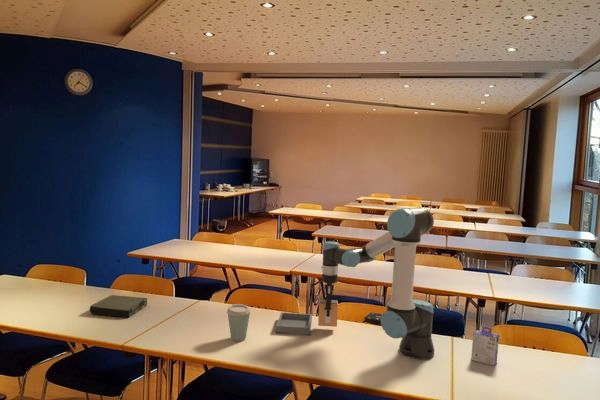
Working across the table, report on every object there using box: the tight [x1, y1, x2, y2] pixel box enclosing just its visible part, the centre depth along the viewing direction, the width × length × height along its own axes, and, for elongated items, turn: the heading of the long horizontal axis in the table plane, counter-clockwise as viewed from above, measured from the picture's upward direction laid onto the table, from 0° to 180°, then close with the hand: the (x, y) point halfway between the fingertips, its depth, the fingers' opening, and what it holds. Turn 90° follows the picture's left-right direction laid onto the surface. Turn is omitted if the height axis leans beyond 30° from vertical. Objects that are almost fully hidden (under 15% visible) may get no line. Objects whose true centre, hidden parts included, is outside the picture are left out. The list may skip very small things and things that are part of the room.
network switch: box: [89, 294, 148, 319], centre depth 250 cm, size 23×23×5 cm
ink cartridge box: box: [470, 326, 500, 366], centre depth 207 cm, size 10×6×14 cm, turn 58°
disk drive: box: [364, 312, 383, 326], centre depth 252 cm, size 10×3×15 cm
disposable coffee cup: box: [226, 303, 251, 342], centre depth 218 cm, size 11×11×15 cm
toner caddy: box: [317, 298, 339, 328], centre depth 235 cm, size 6×9×11 cm, turn 86°
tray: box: [275, 311, 313, 336], centre depth 238 cm, size 20×16×4 cm
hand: (327, 320), depth 235 cm, fingers closed on toner caddy, 6 cm apart
